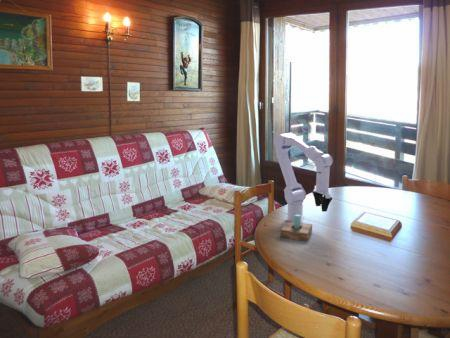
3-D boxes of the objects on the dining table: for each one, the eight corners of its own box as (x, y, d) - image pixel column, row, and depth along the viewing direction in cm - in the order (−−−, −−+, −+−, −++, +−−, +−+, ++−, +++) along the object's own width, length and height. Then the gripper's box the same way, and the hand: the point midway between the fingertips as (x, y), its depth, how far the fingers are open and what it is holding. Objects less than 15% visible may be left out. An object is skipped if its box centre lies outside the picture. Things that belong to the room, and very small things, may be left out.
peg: (295, 232, 181) (296, 214, 179) (301, 234, 179) (302, 215, 177) (292, 234, 179) (292, 215, 177) (297, 236, 177) (298, 217, 175)
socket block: (286, 227, 187) (286, 220, 186) (312, 231, 182) (312, 224, 181) (280, 237, 176) (280, 230, 175) (307, 241, 171) (307, 233, 171)
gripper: (308, 177, 187) (307, 204, 190) (320, 185, 173) (318, 214, 176) (322, 176, 188) (321, 203, 191) (335, 184, 174) (333, 213, 177)
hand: (321, 208), depth 183 cm, fingers open, 7 cm apart
